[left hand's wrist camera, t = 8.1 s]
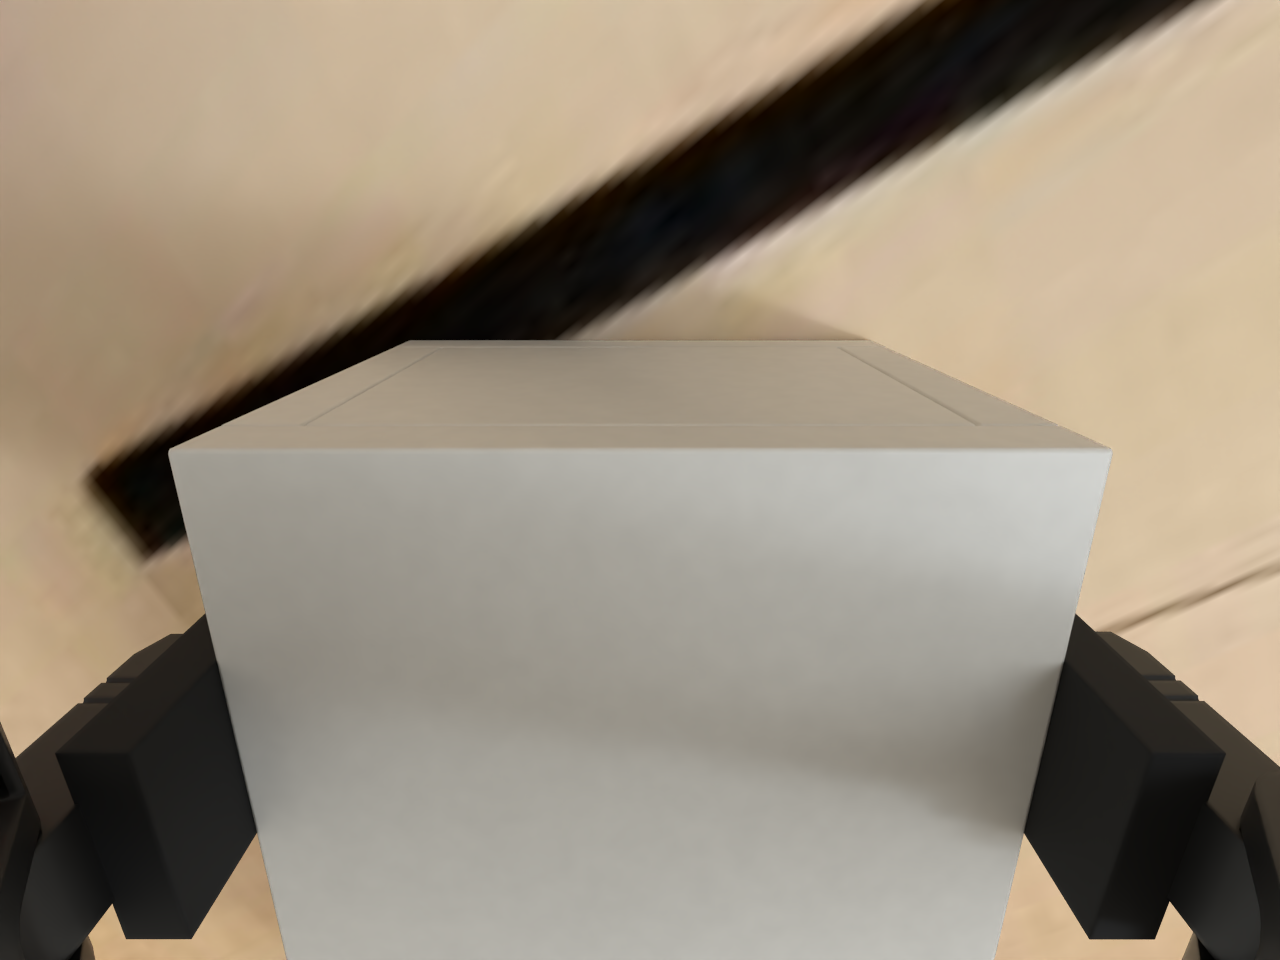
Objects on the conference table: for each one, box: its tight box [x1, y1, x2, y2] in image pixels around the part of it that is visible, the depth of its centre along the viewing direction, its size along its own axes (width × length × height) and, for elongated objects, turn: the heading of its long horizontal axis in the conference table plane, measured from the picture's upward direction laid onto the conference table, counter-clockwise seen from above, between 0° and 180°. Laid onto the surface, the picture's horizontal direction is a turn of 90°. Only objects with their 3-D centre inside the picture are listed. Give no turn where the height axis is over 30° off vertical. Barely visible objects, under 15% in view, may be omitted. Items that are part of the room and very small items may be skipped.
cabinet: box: [168, 340, 1112, 960], centre depth 15 cm, size 20×10×8 cm, turn 0°
